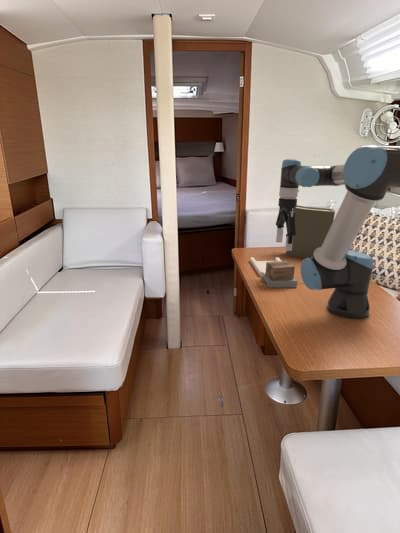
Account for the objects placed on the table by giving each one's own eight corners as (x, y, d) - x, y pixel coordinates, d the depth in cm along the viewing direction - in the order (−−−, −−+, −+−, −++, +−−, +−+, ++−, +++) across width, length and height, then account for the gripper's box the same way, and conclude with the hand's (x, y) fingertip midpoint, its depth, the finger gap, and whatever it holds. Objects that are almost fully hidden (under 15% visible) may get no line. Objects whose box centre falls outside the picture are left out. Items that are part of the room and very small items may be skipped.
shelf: (291, 278, 173) (291, 272, 172) (259, 278, 172) (260, 272, 171) (277, 262, 194) (278, 257, 193) (250, 262, 193) (250, 257, 192)
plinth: (296, 287, 163) (297, 280, 162) (268, 287, 162) (268, 281, 161) (289, 278, 172) (290, 272, 171) (262, 279, 171) (263, 273, 170)
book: (324, 256, 208) (333, 207, 198) (327, 261, 199) (336, 210, 189) (286, 252, 211) (293, 204, 201) (286, 257, 202) (293, 207, 193)
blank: (293, 279, 164) (294, 266, 162) (272, 280, 161) (274, 268, 159) (285, 273, 171) (286, 260, 169) (265, 274, 168) (266, 262, 166)
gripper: (307, 202, 142) (301, 254, 149) (287, 193, 166) (283, 239, 173) (288, 202, 142) (283, 254, 149) (271, 193, 165) (267, 239, 172)
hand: (283, 246), depth 161 cm, fingers open, 13 cm apart
